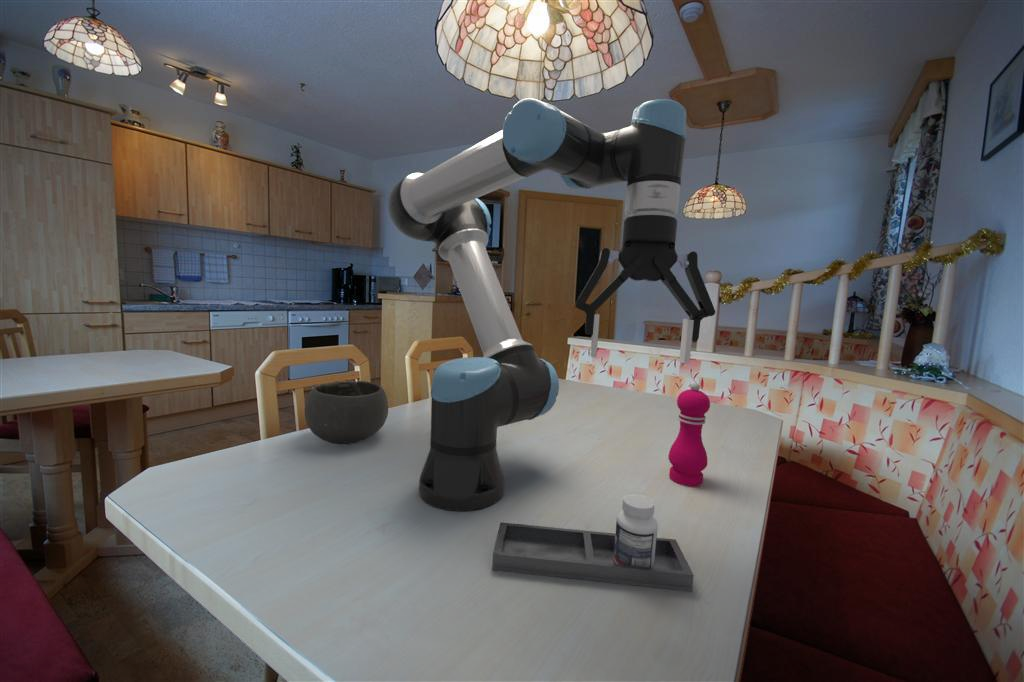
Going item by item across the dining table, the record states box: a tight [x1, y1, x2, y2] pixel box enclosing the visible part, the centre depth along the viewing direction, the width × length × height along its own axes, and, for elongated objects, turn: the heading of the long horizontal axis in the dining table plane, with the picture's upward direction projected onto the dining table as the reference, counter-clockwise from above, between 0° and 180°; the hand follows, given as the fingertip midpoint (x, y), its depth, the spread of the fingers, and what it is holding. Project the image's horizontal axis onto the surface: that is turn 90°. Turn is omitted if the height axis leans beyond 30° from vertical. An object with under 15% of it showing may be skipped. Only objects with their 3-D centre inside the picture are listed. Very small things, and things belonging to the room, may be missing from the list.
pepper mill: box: [668, 381, 711, 487], centre depth 83 cm, size 7×7×20 cm
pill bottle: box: [614, 493, 658, 568], centre depth 56 cm, size 5×5×9 cm
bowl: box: [304, 380, 389, 446], centre depth 96 cm, size 18×18×13 cm
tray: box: [491, 521, 695, 592], centre depth 57 cm, size 25×8×2 cm, turn 84°
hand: (638, 359), depth 64 cm, fingers open, 13 cm apart
